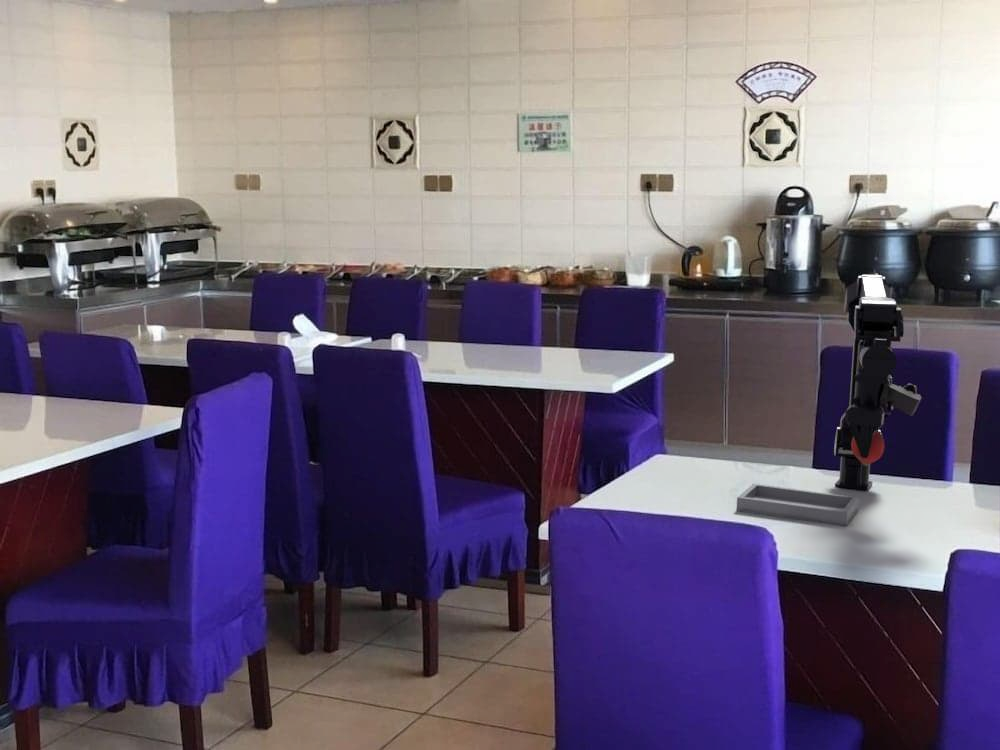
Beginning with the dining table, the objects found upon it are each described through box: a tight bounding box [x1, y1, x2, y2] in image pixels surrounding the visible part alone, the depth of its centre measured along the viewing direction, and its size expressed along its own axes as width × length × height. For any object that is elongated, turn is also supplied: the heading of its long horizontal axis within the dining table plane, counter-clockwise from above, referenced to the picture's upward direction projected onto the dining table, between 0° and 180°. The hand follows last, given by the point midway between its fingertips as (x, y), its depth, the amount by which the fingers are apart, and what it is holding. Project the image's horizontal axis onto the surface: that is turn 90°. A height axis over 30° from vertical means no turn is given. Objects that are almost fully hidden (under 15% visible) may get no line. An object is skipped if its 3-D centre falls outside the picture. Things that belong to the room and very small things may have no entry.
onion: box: [851, 430, 885, 466], centre depth 220 cm, size 6×6×8 cm
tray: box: [736, 483, 860, 527], centre depth 225 cm, size 12×20×2 cm, turn 64°
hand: (866, 454), depth 220 cm, fingers closed on onion, 6 cm apart
